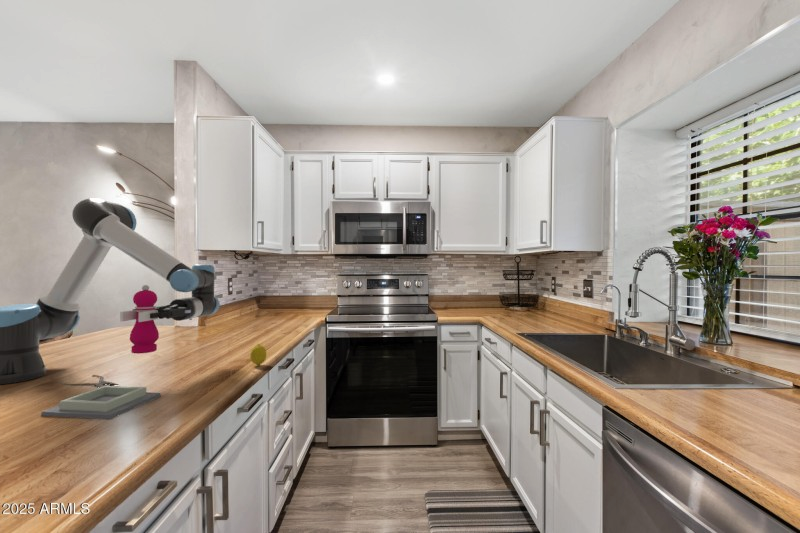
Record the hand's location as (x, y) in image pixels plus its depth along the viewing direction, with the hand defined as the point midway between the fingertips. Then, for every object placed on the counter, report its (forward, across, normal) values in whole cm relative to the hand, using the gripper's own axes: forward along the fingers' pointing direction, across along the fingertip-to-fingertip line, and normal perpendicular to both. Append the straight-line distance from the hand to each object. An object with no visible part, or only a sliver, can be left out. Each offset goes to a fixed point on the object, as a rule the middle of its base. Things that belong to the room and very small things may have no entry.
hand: (130, 316), depth 106 cm
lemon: (-33, -22, -22) cm, 46 cm away
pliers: (-8, +18, -22) cm, 30 cm away
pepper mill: (-5, 0, -11) cm, 12 cm away
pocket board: (+10, -2, -22) cm, 24 cm away
